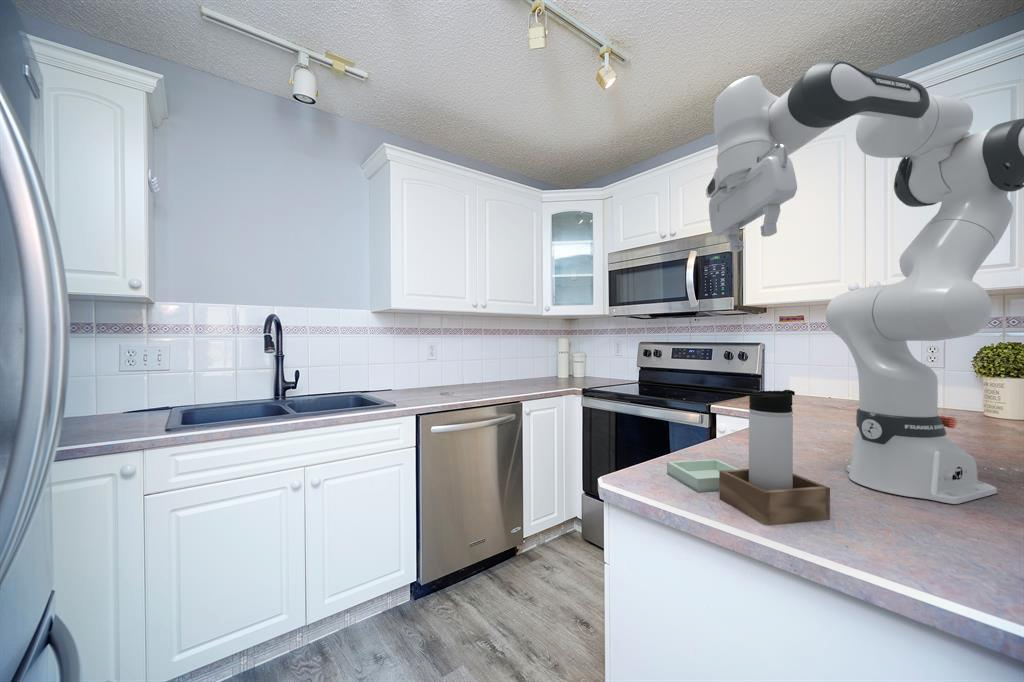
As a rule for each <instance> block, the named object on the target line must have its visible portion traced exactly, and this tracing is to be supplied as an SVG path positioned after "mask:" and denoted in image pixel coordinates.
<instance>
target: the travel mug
mask: <svg viewBox="0 0 1024 682" xmlns="http://www.w3.org/2000/svg"><path fill="white" fill-rule="evenodd" d="M795 394H796V392H795V390H791V389H784V390H764V391H763V390H762V391H756V392H751V393H750V394H749V397H748V399H749V401H748V403H749V404H748V405H749V406H748V407H749V408H748V411H749V412H748V469H749V483H751V484H753V485H755V486H757V487H759V488H761V489H764V490H766V491H768V490H781V489H793V474H794V471H793V470H794V469H793V467H794V466H793V465H794V459H793V457H794V456H793V454H794V452H793V451H794V448H793V447H794V443H793V442H794V441H793V440H794V439H793V437H794V434H793V433H794V432H793V431H794V428H793V427H794V426H793V425H794V424H793V423H794V417H793V414H794V413H793V407H792V406H793V396H796V395H795Z"/></svg>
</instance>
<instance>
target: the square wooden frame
mask: <svg viewBox="0 0 1024 682" xmlns="http://www.w3.org/2000/svg"><path fill="white" fill-rule="evenodd" d="M738 469H739V470H724V471H719V492H718V493H719V497H718V498H719V500H721V501H723V502H725V503H727V504H728V505H730V506H731V507H733V508H735V509H737V510H738V511H740V512H742V513H743V514H745V515H747V516H749V517H751V518H752V519H754V520H756V521H757V522H759V523H761V524H762V525H764V526H771V525H772V526H773V525H783V524H785V525H786V524H793V523H794V524H795V523H804V522H805V523H807V522H815V521H816V522H817V521H825V520H831V487H829V486H826V485H823V484H820V483H819V482H815V481H814V480H811V479H808V478H806V477H803V476H800V475H797V474H795V473H793V489H781V490H768V491H766V490H764V489H761V488H759V487H757V486H755V485H753V484H751V483H749V468H741V469H740V468H738Z"/></svg>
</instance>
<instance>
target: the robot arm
mask: <svg viewBox="0 0 1024 682" xmlns="http://www.w3.org/2000/svg"><path fill="white" fill-rule="evenodd" d="M854 116H860V117H859V120H858V122H857V126H856V130H855V139H856V144H857V146H858V148H859V149H860V150H861V152H863V154H865V155H867V156H871V157H874V158H882V159H883V158H884V159H892V158H894V159H895V158H898V159H899V158H901V159H900V162H899V163H898V166H897V171H896V173H895V176H894V181H893V190H894V193H895V196H896V197H897V199H898V200H899V201H900V202H901V203H902V204H904V205H905V206H908V207H910V208H917V207H918V208H920V207H927V206H929V207H930V206H934V205H937V204H938V203H941V204H940V207H939V209H938V211H937V213H936V214H935V215H934V216H933V217H932V218H931V219H930V220H929V221H928V222H927V223H926V225H924V227H922V228H921V231H919V232H918V234H917V235H916V236H915V237H914V239H913V240H912V241H911V243H909V245H908V246H907V247H906V249H905V250H904V251H903V252H902V253H901V255H900V258H899V261H898V263H899V267H900V272H901V273H902V276H904V278H905V279H903V280H901V281H899V282H896V283H892V284H885V285H876V286H868V287H861V288H859V287H858V288H856V289H853V290H850V291H847V292H844V293H841V294H839V295H836V296H835V297H833V298H832V299H831V300H830V302H829V303H828V305H827V306H826V310H825V321H826V324H827V326H828V328H829V329H830V331H831V332H832V333H833V334H835V335H837V336H838V337H839V338H840V339H841V340H842V341H843V342H844V343H845V345H846V347H848V350H849V351H850V353H851V355H852V357H853V360H854V363H855V365H856V366H855V367H856V371H857V376H858V393H859V394H858V395H859V396H858V397H859V399H858V401H859V403H858V404H859V405H858V406H859V407H858V408H857V409H856V414H855V420H856V421H855V422H856V423H855V425H856V427H857V428H858V431H857V432H855V434H854V437H853V443H852V453H851V460H850V464H847V466H846V471H847V472H848V478H849V479H850V481H851V480H852V482H854V483H857V484H858V485H862V486H864V487H867V488H870V489H871V490H876V491H879V492H884V493H888V494H893V495H898V496H902V497H903V496H904V497H909V498H916V499H917V498H918V499H924V500H931V501H936V502H941V503H946V504H951V505H958V504H961V503H967V502H970V501H973V500H977V499H980V498H985V497H988V496H991V495H995V494H997V493H998V489H997V487H996V486H994V485H991V484H990V483H987V482H984V481H981V480H978V467H977V461H976V460H975V458H974V457H973V455H970V454H969V453H968V452H967V451H965V450H964V449H963V448H961V447H960V446H959V445H957V443H955V442H954V441H953V440H951V439H950V438H948V437H947V436H946V435H947V432H946V429H945V427H946V428H948V429H955V428H956V426H957V425H958V420H956V417H950V416H949V417H947V416H945V415H941V416H939V413H938V408H939V407H938V406H939V404H938V403H939V401H938V399H939V398H938V393H939V392H938V391H939V389H938V387H939V386H938V385H939V383H938V382H939V379H938V376H937V374H936V373H935V371H934V370H933V369H932V368H931V367H930V366H928V365H926V364H925V363H922V362H920V361H918V360H917V359H916V358H915V356H914V355H913V354H912V352H911V350H910V349H909V346H908V343H907V342H910V341H914V342H915V341H916V342H917V341H920V342H921V341H922V342H923V341H924V342H925V341H926V342H938V341H945V340H946V341H947V340H952V339H958V338H964V337H965V338H966V337H970V336H972V335H976V334H977V333H979V332H980V331H981V330H982V329H983V328H984V327H985V326H986V325H987V323H988V322H989V320H990V318H991V315H992V310H993V309H992V308H993V306H992V305H993V304H992V300H991V298H990V295H989V294H988V292H987V291H986V290H985V289H984V288H983V287H982V286H981V285H980V284H978V283H976V282H974V281H973V279H974V276H975V274H976V273H977V272H978V270H979V269H980V268H981V266H982V264H983V263H984V262H985V261H986V259H987V258H988V257H989V255H990V254H991V253H992V251H993V250H994V249H995V248H996V246H997V245H998V244H999V242H1000V240H1001V239H1002V237H1003V236H1004V234H1005V232H1006V231H1007V229H1008V226H1009V224H1010V221H1011V219H1012V216H1013V214H1014V207H1013V204H1012V202H1011V200H1010V199H1009V197H1008V193H1009V192H1017V191H1019V190H1022V189H1023V188H1024V118H1018V119H1013V120H1009V121H1005V122H1001V123H998V124H996V125H993V126H992V127H990V128H988V129H984V130H981V131H978V132H974V133H972V134H971V133H970V132H969V131H970V129H971V127H972V123H973V121H974V112H973V110H972V107H971V106H970V104H969V103H967V101H964V100H961V99H959V98H955V97H952V96H948V95H947V96H946V95H942V94H933V93H928V91H927V89H926V87H924V86H923V85H922V84H921V83H919V82H917V81H915V80H910V79H907V78H904V77H902V78H901V77H898V76H893V75H892V76H891V75H887V74H883V73H878V72H872V71H868V70H863V69H861V68H859V67H857V66H855V65H853V64H852V63H849V62H847V61H843V60H835V59H834V60H823V61H819V62H817V63H816V64H814V65H813V66H811V67H810V68H809V69H808V70H807V71H806V72H805V73H804V74H803V75H802V76H801V77H799V79H798V80H797V81H796V82H795V83H794V85H792V87H790V88H789V89H788V90H787V91H786V92H784V93H783V94H782V95H781V96H777V95H776V94H773V92H770V91H769V90H768V89H767V88H766V87H765V86H764V84H763V81H762V79H761V77H760V76H759V75H754V74H753V75H748V76H747V75H746V76H744V77H741V78H738V79H737V80H735V81H734V82H733V81H732V82H731V83H730V84H729V85H727V86H726V87H725V88H724V89H723V90H722V91H721V92H720V94H719V95H718V96H717V97H716V99H715V102H714V109H713V131H714V140H715V143H716V145H717V154H716V155H717V156H716V162H717V163H716V164H717V167H716V169H715V170H714V174H713V175H712V178H711V180H710V182H709V183H708V185H707V186H706V189H705V196H706V198H709V199H710V200H709V201H708V202H709V203H708V214H709V223H710V229H711V231H712V233H713V234H714V235H715V236H724V238H725V239H726V240H727V242H728V243H729V248H730V249H729V250H730V252H731V253H739V252H741V251H743V250H744V249H745V247H744V241H743V240H741V239H740V236H739V235H740V229H741V228H744V227H745V226H747V225H748V224H751V223H752V222H753V221H755V220H757V219H759V218H760V217H762V216H764V218H763V224H762V225H761V226H760V232H761V233H760V235H761V236H762V237H763V238H764V237H771V236H773V235H775V234H777V232H778V230H777V223H778V220H779V217H780V215H781V214H780V213H781V205H783V204H784V203H787V202H788V201H790V200H791V199H793V198H794V197H795V196H796V193H797V191H798V183H797V178H796V172H795V169H794V164H793V162H792V159H791V158H790V157H789V156H791V155H793V153H795V152H796V151H798V150H800V149H801V148H803V147H804V146H805V145H807V144H808V143H810V142H811V141H813V140H814V139H816V138H817V137H819V136H820V135H822V134H823V133H825V132H826V131H828V130H829V129H831V128H832V127H834V126H836V125H837V124H840V123H841V122H843V121H845V120H847V119H848V118H851V117H854Z"/></svg>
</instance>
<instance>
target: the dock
mask: <svg viewBox="0 0 1024 682" xmlns="http://www.w3.org/2000/svg"><path fill="white" fill-rule="evenodd" d="M739 469H740V468H737V467H735V466H733V465H731V464H728V463H726V462H724V461H722V460H720V459H718V458H711V459H710V458H709V459H693V460H678V461H677V460H676V461H667V462H666V475H669V476H670V477H672V478H673V479H675V480H676V481H678V482H680V483H681V482H682V483H681V484H683V485H685V486H686V485H687V487H688V486H689V487H688V488H690V489H691V488H692V490H693V491H695V492H696V491H697V493H705V492H718V491H719V471H724V470H739Z"/></svg>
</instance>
